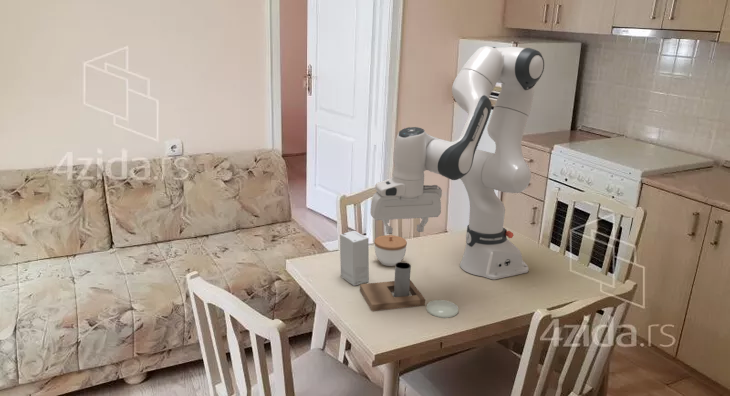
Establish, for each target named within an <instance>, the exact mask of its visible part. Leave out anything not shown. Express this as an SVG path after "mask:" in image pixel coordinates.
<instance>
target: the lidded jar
mask: <svg viewBox="0 0 730 396" xmlns="http://www.w3.org/2000/svg"><path fill="white" fill-rule="evenodd" d="M407 244H408V242H407V240H406V239H405V238H404V237H402V236H398V235H393V234H386V235H380V236H377V237H376V238H375V239H374V253H375V257H376V259H377V260H378V261H379V262H380V264H381V265H383V266H385V267H386V266H387V267H395V265H396V263H399V262H403V259H404V258H405V255H406V250H407Z"/></svg>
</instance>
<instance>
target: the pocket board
mask: <svg viewBox="0 0 730 396" xmlns="http://www.w3.org/2000/svg"><path fill="white" fill-rule="evenodd" d="M359 291H360V293H361V294H362V296H363V298H364V300H365V302H366V303H367V306H368V307H369V309H370V311H371V312H374V311H375V312H376V311H377V312H378V311H385V310H396V309H403V308H404V309H405V308H413V307H423V306H425V305H426V299H425V297H424V296H423V294H422V293H421V291H419V289H418V288H417V286H416V285H415V284H414V283H413V281H412V280H411V279H410V287H409V294H410V295H409V296H402V297H394V294H393V293H394V280H392V281H380V282H371V283H370V282H367V283H363V284H359Z"/></svg>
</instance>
